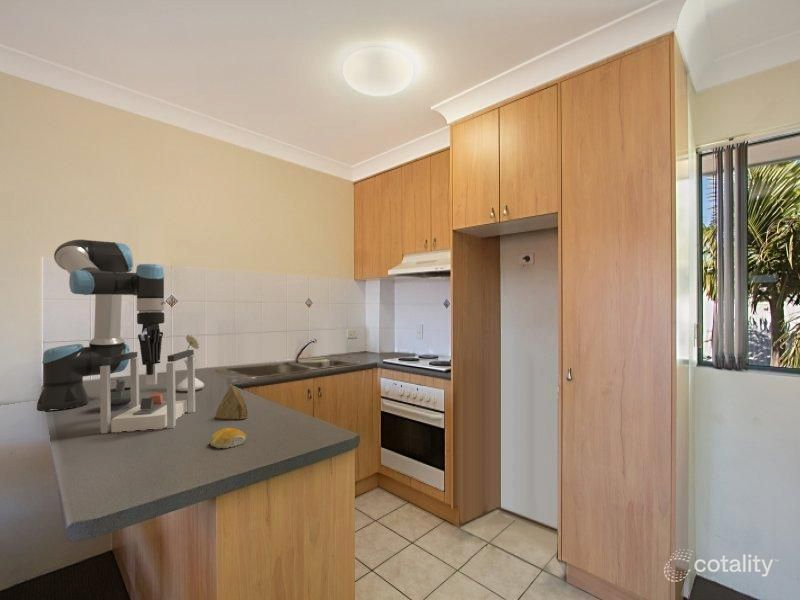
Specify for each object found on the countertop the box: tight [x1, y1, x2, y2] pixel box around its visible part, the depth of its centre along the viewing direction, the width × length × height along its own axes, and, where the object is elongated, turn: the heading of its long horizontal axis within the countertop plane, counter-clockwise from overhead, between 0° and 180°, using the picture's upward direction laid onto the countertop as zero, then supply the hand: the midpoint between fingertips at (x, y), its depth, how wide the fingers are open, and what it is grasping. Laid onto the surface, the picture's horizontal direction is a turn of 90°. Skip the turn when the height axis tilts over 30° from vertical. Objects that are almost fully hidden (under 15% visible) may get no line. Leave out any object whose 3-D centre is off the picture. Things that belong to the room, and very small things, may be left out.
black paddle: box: [140, 397, 154, 410], centre depth 123 cm, size 2×3×3 cm, turn 100°
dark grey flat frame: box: [102, 349, 195, 365], centre depth 127 cm, size 18×20×2 cm
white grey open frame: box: [99, 355, 196, 434], centre depth 127 cm, size 20×20×20 cm
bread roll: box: [209, 427, 247, 449], centre depth 104 cm, size 8×9×4 cm
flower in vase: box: [175, 334, 205, 392], centre depth 176 cm, size 13×11×25 cm
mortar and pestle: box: [110, 376, 131, 411], centre depth 145 cm, size 11×9×12 cm
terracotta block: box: [149, 392, 164, 404], centre depth 130 cm, size 2×3×3 cm, turn 101°
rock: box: [214, 386, 248, 420], centre depth 128 cm, size 11×9×10 cm
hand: (151, 384), depth 127 cm, fingers closed
